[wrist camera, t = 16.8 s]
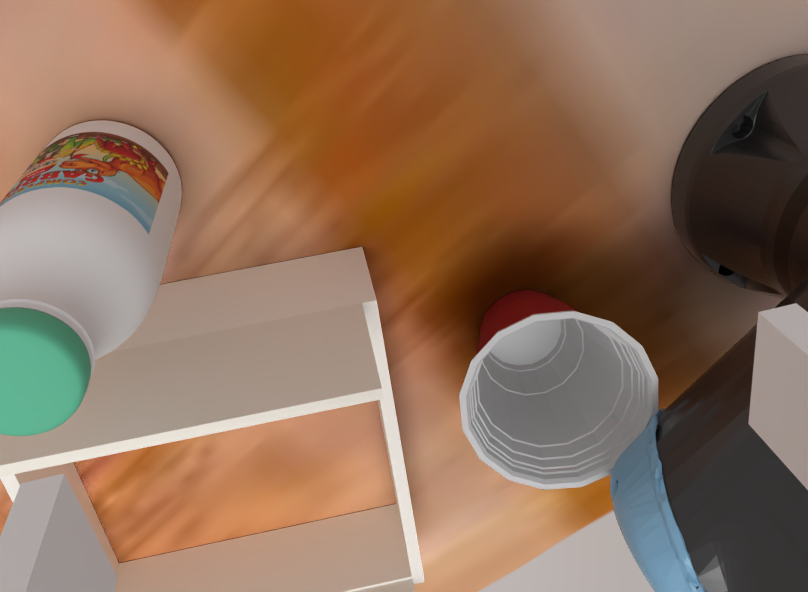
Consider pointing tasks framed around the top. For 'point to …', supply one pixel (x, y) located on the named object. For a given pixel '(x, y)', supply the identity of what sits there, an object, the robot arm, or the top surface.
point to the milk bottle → (78, 264)
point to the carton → (244, 419)
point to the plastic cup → (554, 392)
